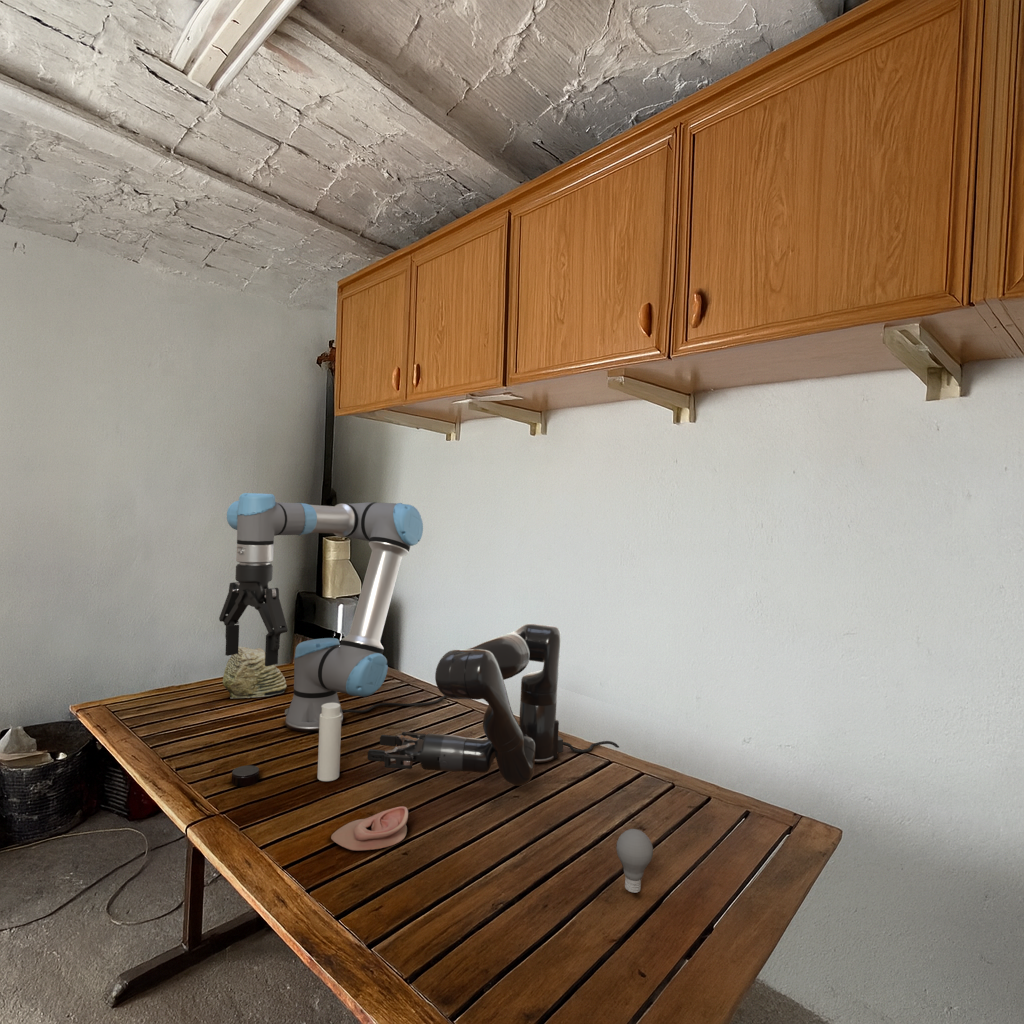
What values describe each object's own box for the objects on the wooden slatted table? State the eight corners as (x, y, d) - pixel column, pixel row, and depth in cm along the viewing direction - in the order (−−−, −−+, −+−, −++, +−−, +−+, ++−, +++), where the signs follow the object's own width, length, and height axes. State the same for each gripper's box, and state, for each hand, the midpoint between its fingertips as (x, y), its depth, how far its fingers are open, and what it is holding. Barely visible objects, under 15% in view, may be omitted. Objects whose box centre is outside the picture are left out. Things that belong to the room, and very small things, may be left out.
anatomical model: (323, 824, 115) (352, 795, 126) (322, 845, 115) (351, 815, 126) (392, 835, 112) (415, 805, 123) (391, 857, 112) (414, 825, 123)
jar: (340, 771, 146) (343, 701, 146) (337, 781, 141) (340, 708, 141) (319, 772, 145) (321, 702, 145) (315, 781, 141) (318, 708, 140)
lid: (228, 779, 140) (228, 769, 140) (254, 773, 144) (254, 763, 143) (236, 788, 136) (236, 778, 136) (262, 782, 139) (263, 771, 139)
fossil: (218, 695, 195) (220, 647, 195) (278, 685, 208) (279, 640, 207) (228, 703, 189) (230, 653, 188) (289, 692, 201) (290, 645, 201)
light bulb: (610, 879, 108) (613, 822, 108) (644, 879, 109) (647, 822, 109) (619, 902, 102) (622, 840, 102) (655, 901, 103) (658, 840, 103)
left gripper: (204, 559, 142) (201, 653, 143) (277, 569, 129) (273, 673, 130) (234, 557, 149) (231, 647, 149) (307, 567, 136) (303, 665, 136)
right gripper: (452, 724, 148) (384, 719, 149) (438, 748, 134) (364, 742, 135) (450, 756, 148) (383, 750, 150) (437, 783, 134) (363, 777, 135)
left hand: (251, 659), depth 139 cm, fingers open, 13 cm apart
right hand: (374, 747), depth 142 cm, fingers open, 8 cm apart
